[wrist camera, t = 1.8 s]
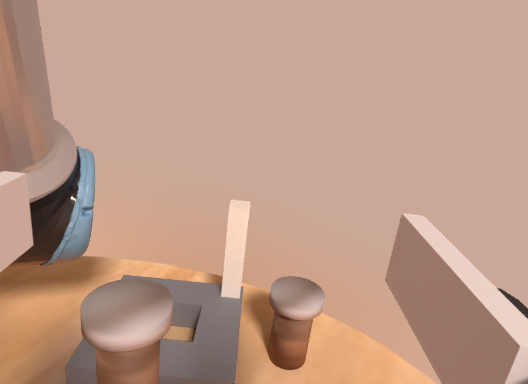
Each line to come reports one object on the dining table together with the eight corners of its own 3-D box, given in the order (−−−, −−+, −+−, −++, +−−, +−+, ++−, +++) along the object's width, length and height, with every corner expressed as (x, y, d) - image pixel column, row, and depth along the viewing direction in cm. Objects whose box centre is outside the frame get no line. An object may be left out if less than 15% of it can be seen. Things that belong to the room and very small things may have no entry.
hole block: (67, 394, 37) (56, 249, 32) (124, 296, 52) (123, 187, 47) (231, 409, 38) (247, 268, 32) (240, 308, 53) (252, 201, 47)
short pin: (251, 356, 45) (260, 291, 42) (279, 330, 49) (288, 270, 46) (295, 384, 42) (308, 316, 39) (320, 354, 46) (333, 291, 43)
